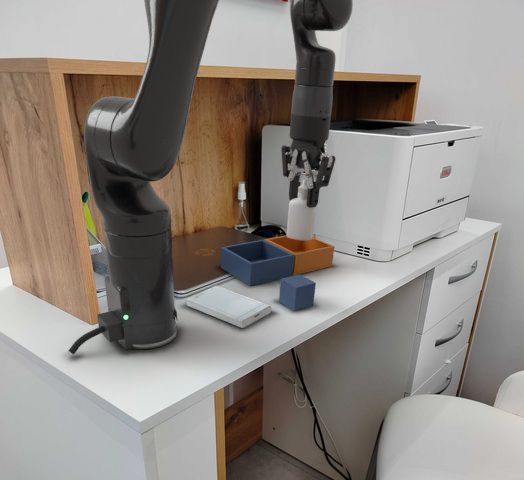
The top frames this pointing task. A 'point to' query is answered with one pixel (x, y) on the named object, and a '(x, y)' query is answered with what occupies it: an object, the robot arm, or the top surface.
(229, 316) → the hard drive
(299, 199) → the eye dropper bottle
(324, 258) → the amber bin
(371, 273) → the top surface
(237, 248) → the blue bin
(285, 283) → the blue block
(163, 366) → the top surface
